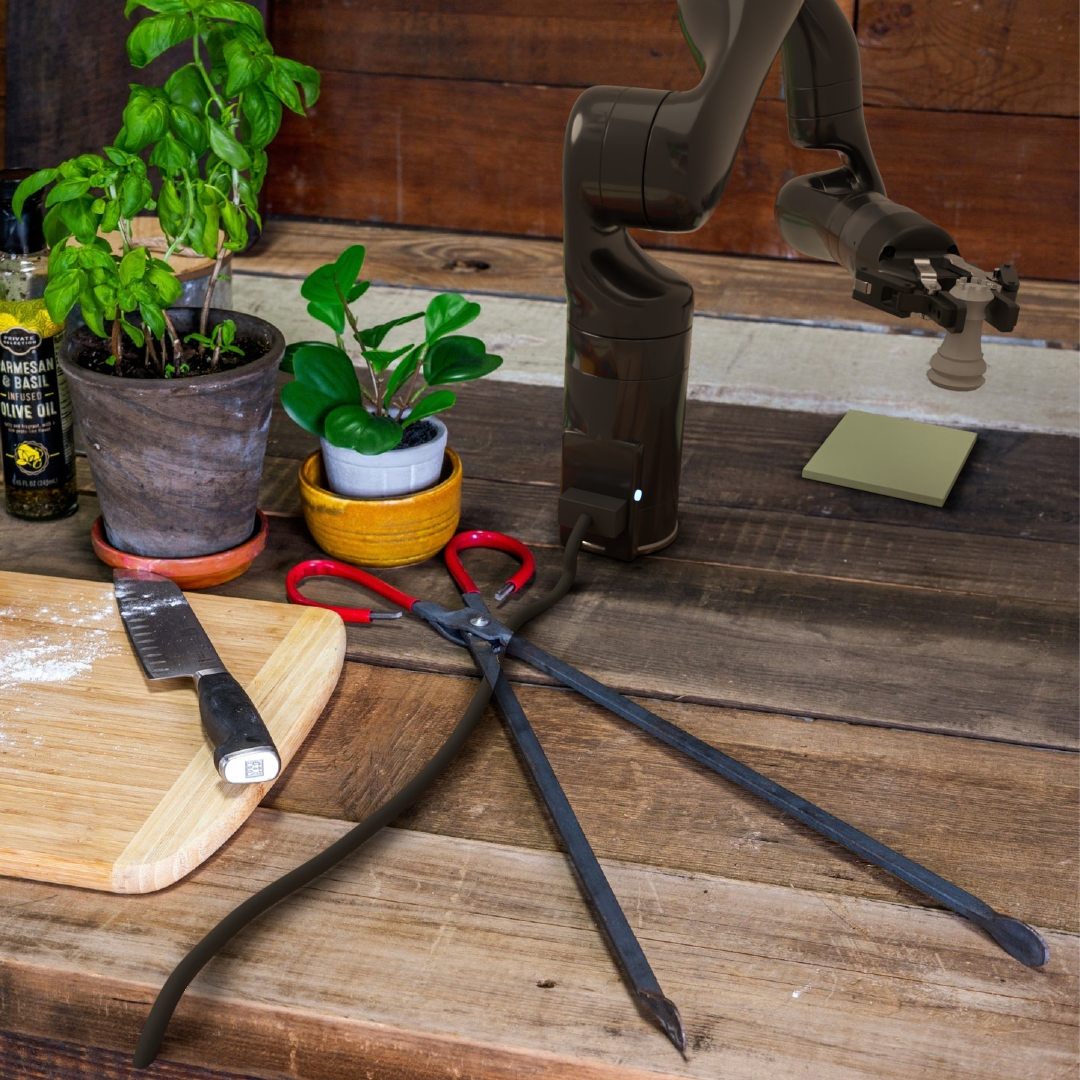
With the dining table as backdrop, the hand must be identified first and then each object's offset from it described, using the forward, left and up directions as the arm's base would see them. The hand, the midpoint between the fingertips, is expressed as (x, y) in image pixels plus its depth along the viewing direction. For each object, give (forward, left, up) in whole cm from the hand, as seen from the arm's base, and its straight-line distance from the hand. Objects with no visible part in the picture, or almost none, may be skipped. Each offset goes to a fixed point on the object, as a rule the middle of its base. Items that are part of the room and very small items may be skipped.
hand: (985, 320), depth 92 cm
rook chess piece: (+2, +2, -6) cm, 7 cm away
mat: (+13, +7, -18) cm, 23 cm away
